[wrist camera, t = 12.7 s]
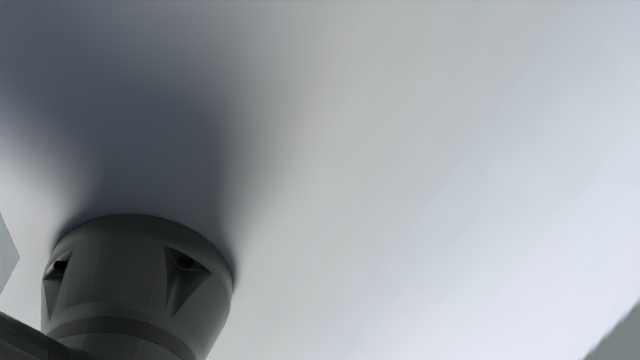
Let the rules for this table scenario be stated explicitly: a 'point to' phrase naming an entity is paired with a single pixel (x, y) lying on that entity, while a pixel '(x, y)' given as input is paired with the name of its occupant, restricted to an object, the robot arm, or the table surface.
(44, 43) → the table surface
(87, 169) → the table surface
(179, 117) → the table surface
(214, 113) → the table surface
